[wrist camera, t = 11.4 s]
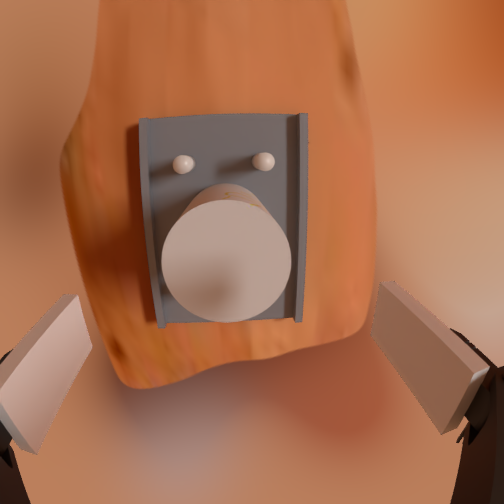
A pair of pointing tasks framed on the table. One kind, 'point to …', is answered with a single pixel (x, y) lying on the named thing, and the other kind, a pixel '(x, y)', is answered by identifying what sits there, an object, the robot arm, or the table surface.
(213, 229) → the cup
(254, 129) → the tray
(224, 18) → the table surface
